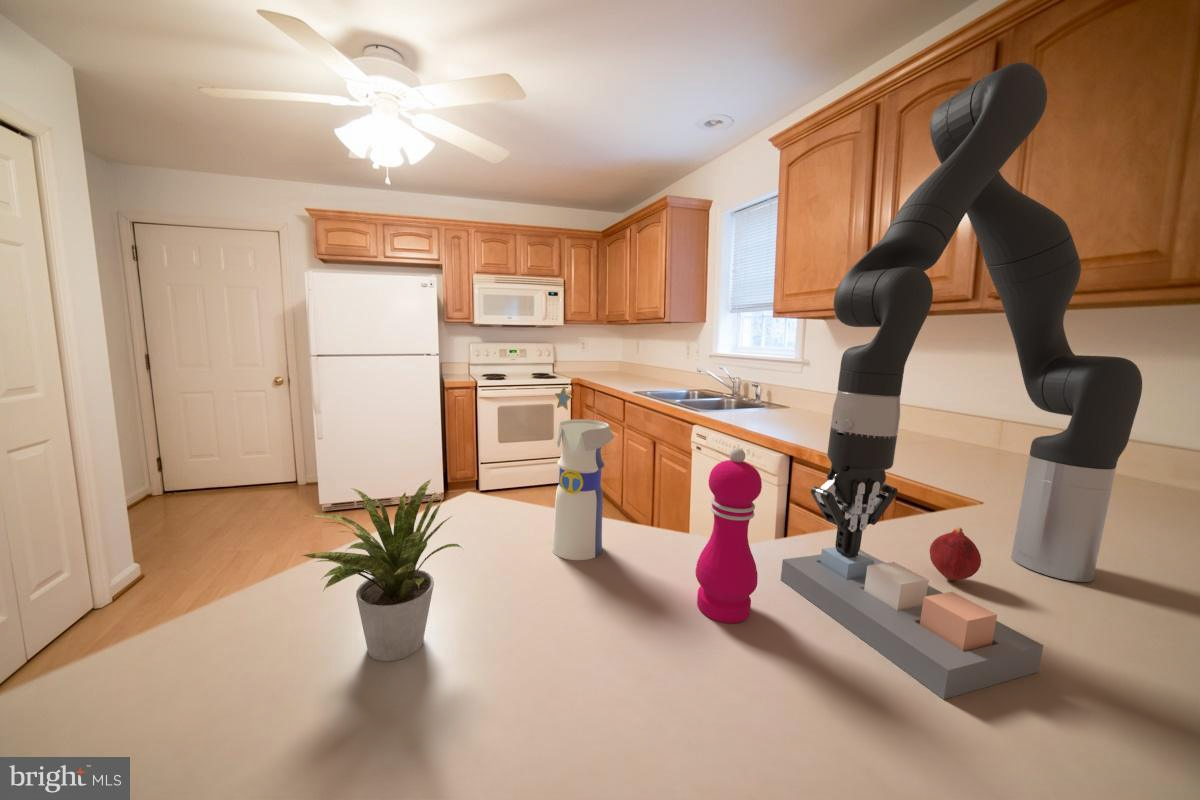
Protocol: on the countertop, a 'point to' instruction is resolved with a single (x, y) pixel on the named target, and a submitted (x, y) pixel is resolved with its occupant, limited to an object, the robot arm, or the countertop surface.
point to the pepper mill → (729, 542)
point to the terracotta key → (958, 621)
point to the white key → (896, 585)
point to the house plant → (389, 576)
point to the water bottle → (579, 487)
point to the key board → (912, 633)
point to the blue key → (845, 563)
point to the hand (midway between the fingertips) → (846, 554)
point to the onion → (955, 555)
